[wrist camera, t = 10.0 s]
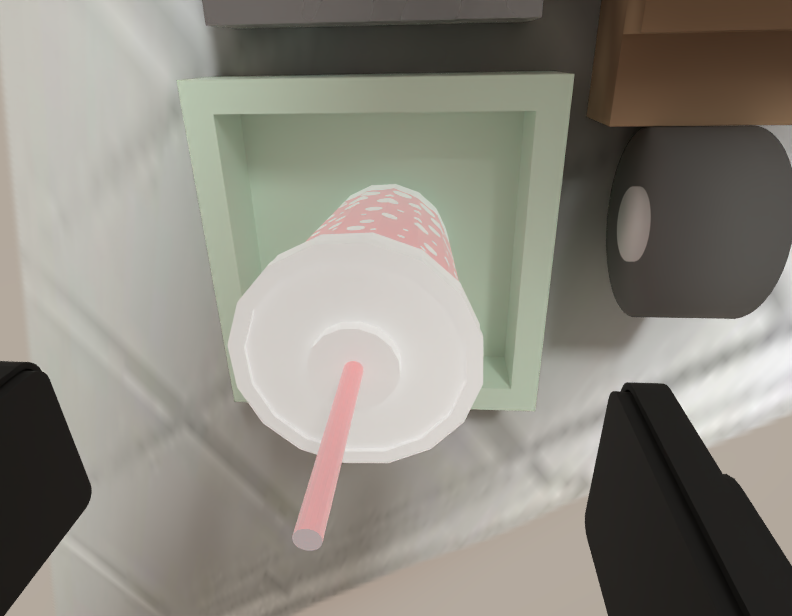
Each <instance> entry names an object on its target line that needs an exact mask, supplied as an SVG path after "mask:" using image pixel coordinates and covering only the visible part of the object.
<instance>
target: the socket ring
mask: <svg viewBox="0 0 792 616" xmlns="http://www.w3.org/2000/svg"><path fill="white" fill-rule="evenodd" d="M202 2H203V9H204V15H205V22H206V25H207V26H216V27H224V28H233V29H246V28H288V27H330V26H372V25H414V24H456V23H498V22H530V21H533V20H535V19H538V18H541V17H542V10H543V0H202Z"/></svg>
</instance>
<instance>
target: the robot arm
mask: <svg viewBox="0 0 792 616" xmlns="http://www.w3.org/2000/svg"><path fill="white" fill-rule="evenodd" d="M90 498H91V484H90V482H89V479H88V476H87V474H86V471H85V469H84V466H83V464H82V461H81V459H80V456H79V453H78V451H77V448H76V446H75V443H74V441H73V438H72V435H71V433H70V430H69V428H68V425H67V423H66V420H65V418H64V415H63V412H62V410H61V407H60V405H59V402H58V400H57V397H56V394H55V392H54V389H53V387H52V384H51V382H50V379H49V377H48V376H47V374H45V373H44V372H42V371H41V369H40V368H39V367H38V366H37V365H36V364H34V363H30V362H8V361H6V362H5V361H0V616H4V615H5V614H6V612H7V611H8V610H9V609H10V607H11V606H12V605H13V603H14V602H15V601H16V599H17V598H18V597H19V595H20V594H21V593H22V591H23V590H24V589H25V587H26V586H27V585H28V584H29V582H30V581H31V579H32V578H33V577H34V576H35V574H36V573H37V571H38V570H39V569H40V568H41V566H42V565H43V564H44V562H45V561H46V560H47V559H48V557H49V556H50V555H51V553H52V552H53V551H54V549H55V548H56V547H57V545H58V544H59V543H60V541H61V540H62V539H63V538H64V536H65V535H66V534H67V532H68V531H69V530H70V528H71V527H72V526H73V524H74V523H75V522H76V520H77V519H78V518H79V516H80V515H81V514H82V513H83V511H84V510H85V509H86V507H87V505H88V503H89V501H90ZM585 529H586V535H587V539H588V543H589V547H590V550H591V554H592V558H593V562H594V565H595V569H596V573H597V576H598V580H599V583H600V587H601V591H602V595H603V598H604V602H605V606H606V609H607V613H608V616H792V566H791V564H790V562H789V561H788V559H787V558H786V556H785V555H784V553H783V552H782V550H781V548H780V547H779V545H778V544H777V542H776V541H775V539H774V537H773V536H772V534H771V533H770V531H769V530H768V528H767V527H766V525H765V523H764V522H763V520H762V519H761V517H760V516H759V514H758V513H757V511H756V510H755V508H754V506H753V505H752V503H751V502H750V500H749V498H748V497H747V495H746V494H745V492H744V491H743V489H742V488H741V486H740V485H739V484H738V483H737V482H736V480H735V479H734V478H732V477H730V476H729V475H727V474H722V472H721V470H720V469H719V467H718V466H717V464H716V462H715V461H714V459H713V458H712V456H711V454H710V453H709V451H708V449H707V448H706V446H705V445H704V443H703V441H702V440H701V438H700V436H699V435H698V433H697V432H696V430H695V428H694V427H693V425H692V423H691V422H690V420H689V419H688V417H687V415H686V414H685V412H684V411H683V409H682V407H681V406H680V404H679V402H678V401H677V399H676V398H675V396H674V394H673V393H672V391H671V389H670V388H669V387H668V386H667V385H665V384H658V383H628V382H627V383H625V384H624V385H623V387H622V389H621V392H617V391H613V392H611V394H610V396H609V399H608V404H607V409H606V414H605V419H604V424H603V429H602V434H601V439H600V444H599V448H598V453H597V458H596V463H595V468H594V473H593V478H592V483H591V488H590V493H589V497H588V502H587V508H586V513H585Z"/></svg>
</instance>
